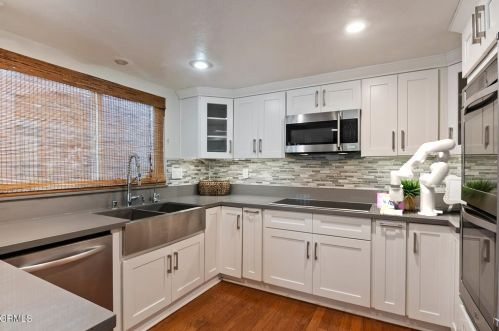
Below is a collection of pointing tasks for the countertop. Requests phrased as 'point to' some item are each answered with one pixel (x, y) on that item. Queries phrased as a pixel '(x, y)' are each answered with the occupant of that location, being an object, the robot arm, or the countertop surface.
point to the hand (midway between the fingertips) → (396, 209)
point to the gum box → (387, 201)
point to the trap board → (391, 211)
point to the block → (384, 206)
